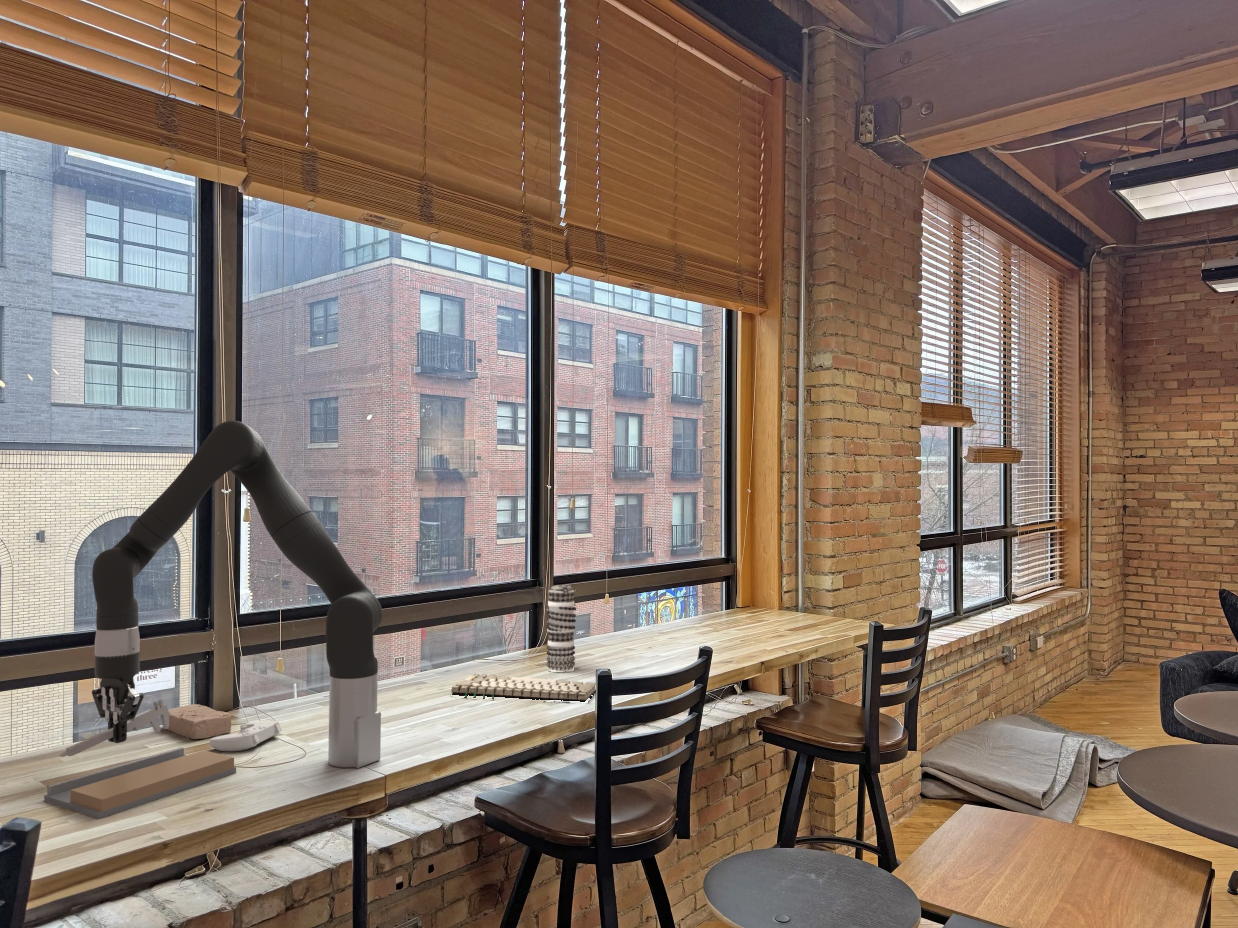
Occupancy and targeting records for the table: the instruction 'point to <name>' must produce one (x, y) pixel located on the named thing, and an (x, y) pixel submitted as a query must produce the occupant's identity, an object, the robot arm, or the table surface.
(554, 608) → the decorative candle
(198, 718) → the brick
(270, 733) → the game controller
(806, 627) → the table surface
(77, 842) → the table surface
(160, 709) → the caliper
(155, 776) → the plank board
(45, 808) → the table surface
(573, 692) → the mechanical keyboard
